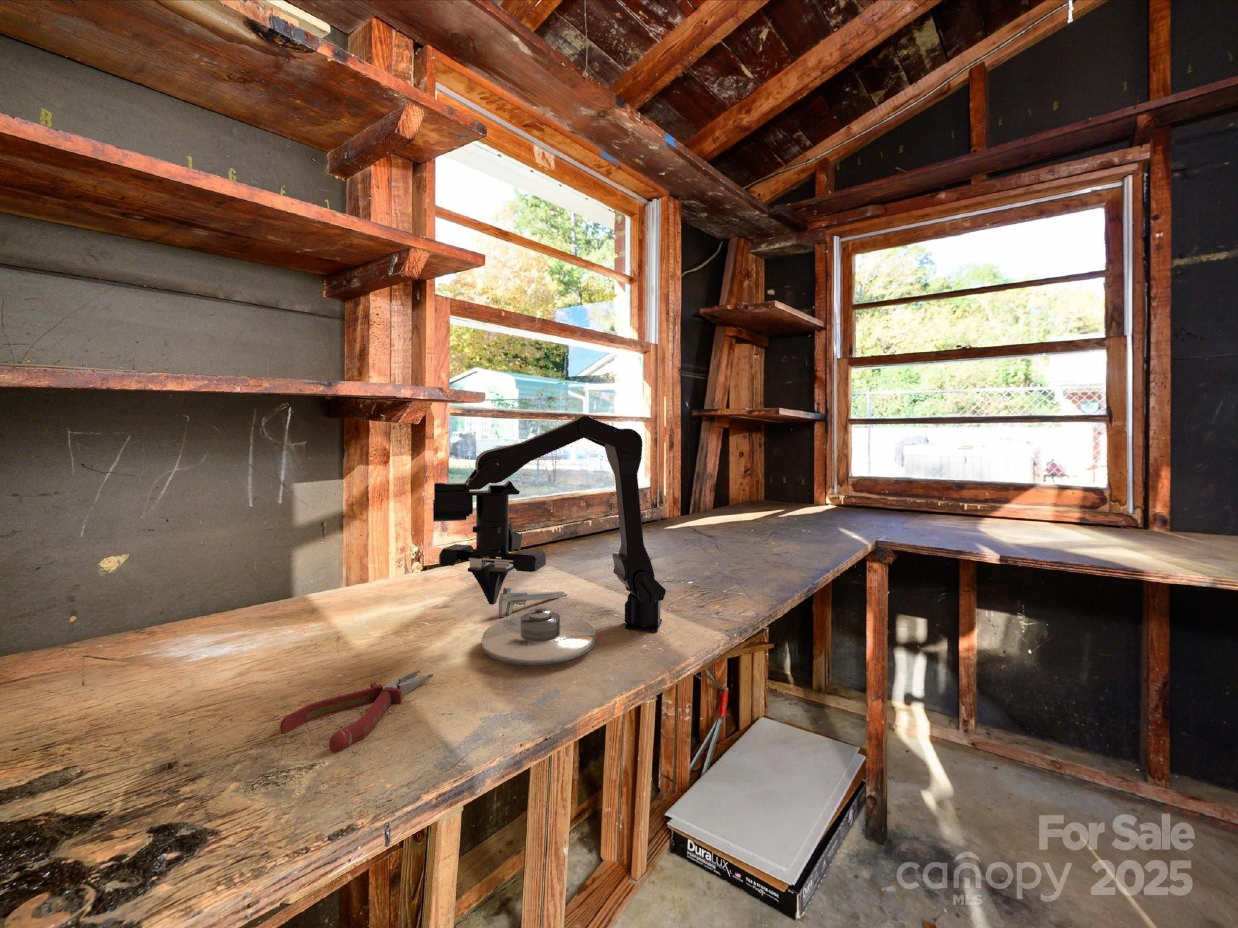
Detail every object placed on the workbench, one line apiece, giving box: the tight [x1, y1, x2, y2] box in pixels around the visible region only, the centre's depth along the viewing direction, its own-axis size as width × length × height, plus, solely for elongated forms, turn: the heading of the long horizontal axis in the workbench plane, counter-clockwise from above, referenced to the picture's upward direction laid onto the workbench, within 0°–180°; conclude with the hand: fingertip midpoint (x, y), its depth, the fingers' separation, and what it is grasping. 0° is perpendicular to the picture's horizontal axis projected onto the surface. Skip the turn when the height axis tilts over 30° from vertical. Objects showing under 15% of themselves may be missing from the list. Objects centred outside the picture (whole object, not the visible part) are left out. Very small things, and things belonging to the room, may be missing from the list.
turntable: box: [481, 614, 596, 666], centre depth 97 cm, size 20×20×1 cm
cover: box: [520, 606, 561, 641], centre depth 97 cm, size 7×7×4 cm
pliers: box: [279, 669, 434, 753], centre depth 76 cm, size 12×20×3 cm, turn 155°
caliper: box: [498, 587, 568, 618], centre depth 121 cm, size 20×1×6 cm, turn 143°
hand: (492, 603), depth 99 cm, fingers closed
